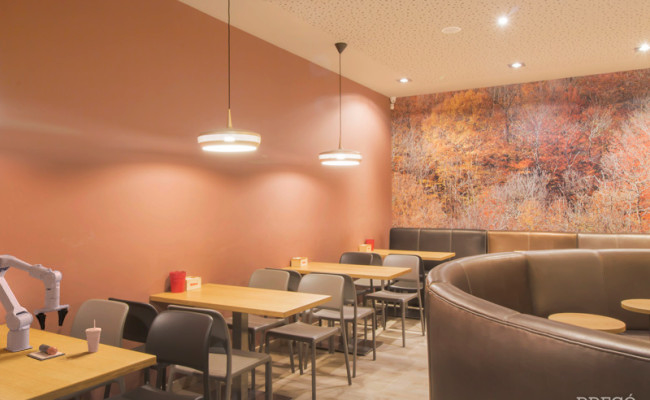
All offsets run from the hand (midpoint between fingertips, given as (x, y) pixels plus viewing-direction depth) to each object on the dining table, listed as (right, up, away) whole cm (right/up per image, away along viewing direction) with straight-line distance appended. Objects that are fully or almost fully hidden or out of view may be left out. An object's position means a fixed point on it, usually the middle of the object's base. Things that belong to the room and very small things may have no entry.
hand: (51, 327), depth 205 cm
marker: (+3, -8, -10) cm, 13 cm away
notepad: (+3, -9, -10) cm, 14 cm away
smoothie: (+21, -9, -5) cm, 24 cm away
